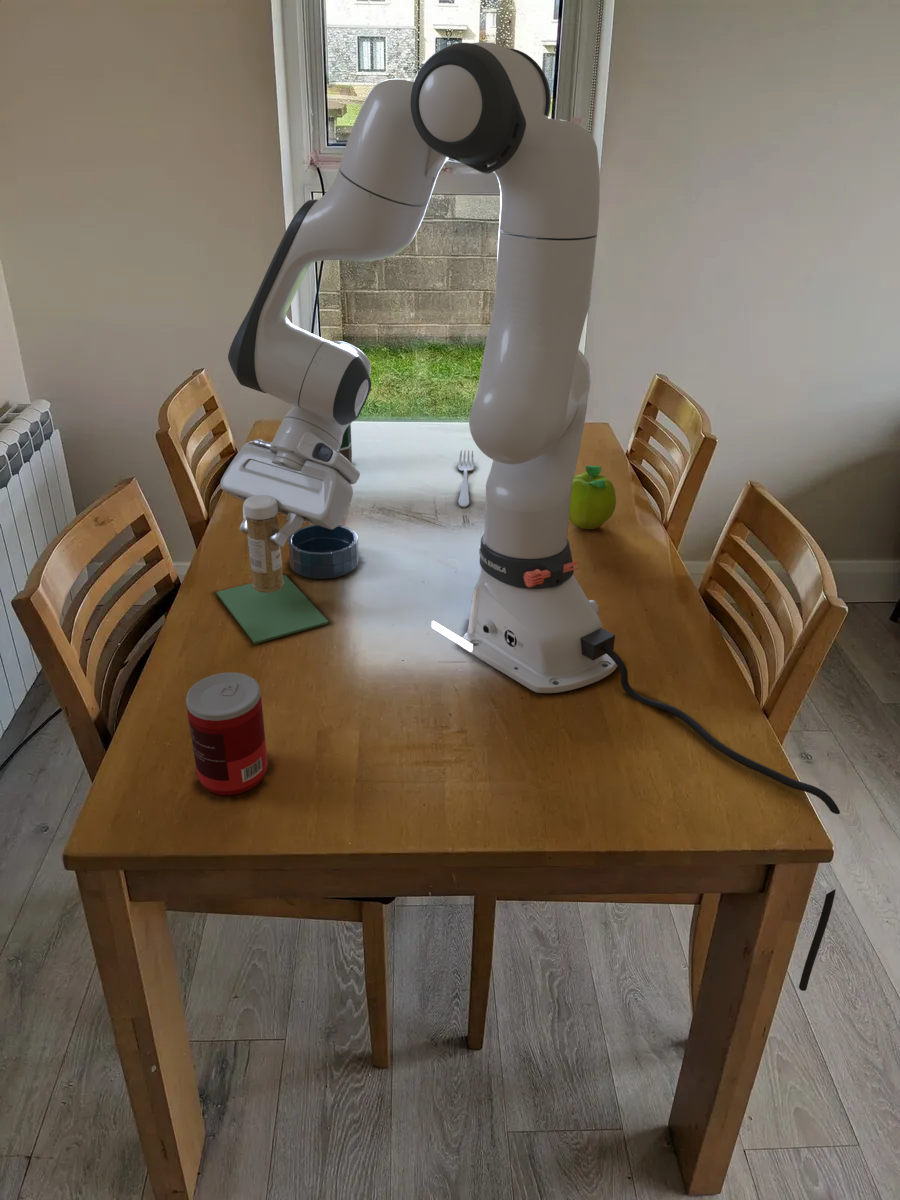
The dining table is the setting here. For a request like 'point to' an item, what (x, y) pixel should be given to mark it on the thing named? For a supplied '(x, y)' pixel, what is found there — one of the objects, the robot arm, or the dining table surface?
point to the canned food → (227, 732)
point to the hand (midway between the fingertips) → (260, 538)
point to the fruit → (591, 499)
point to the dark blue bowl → (323, 551)
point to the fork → (465, 479)
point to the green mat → (271, 611)
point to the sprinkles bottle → (263, 543)
